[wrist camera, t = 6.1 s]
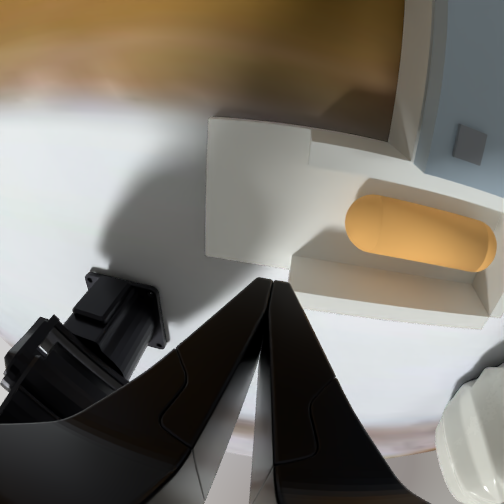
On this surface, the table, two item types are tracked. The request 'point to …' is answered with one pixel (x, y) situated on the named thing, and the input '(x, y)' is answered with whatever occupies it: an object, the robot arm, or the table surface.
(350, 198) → the white open box
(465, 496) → the vase
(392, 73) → the table surface
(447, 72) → the cover
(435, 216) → the orange rounded block
